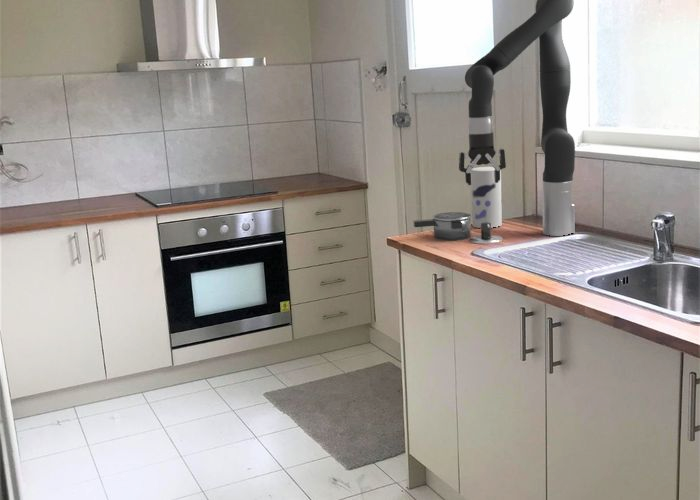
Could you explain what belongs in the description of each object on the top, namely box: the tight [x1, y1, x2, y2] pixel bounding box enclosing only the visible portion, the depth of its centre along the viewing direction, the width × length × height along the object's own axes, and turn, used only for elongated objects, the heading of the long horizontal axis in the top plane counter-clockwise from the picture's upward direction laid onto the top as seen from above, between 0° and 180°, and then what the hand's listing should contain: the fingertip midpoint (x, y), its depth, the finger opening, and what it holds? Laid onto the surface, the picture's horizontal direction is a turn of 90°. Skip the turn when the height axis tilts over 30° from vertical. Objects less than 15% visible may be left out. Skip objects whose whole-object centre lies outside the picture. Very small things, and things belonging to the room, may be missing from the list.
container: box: [470, 166, 503, 229], centre depth 268 cm, size 10×10×20 cm
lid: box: [469, 222, 504, 245], centre depth 248 cm, size 10×10×6 cm
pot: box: [413, 211, 472, 242], centre depth 254 cm, size 19×14×7 cm
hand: (482, 183), depth 244 cm, fingers open, 8 cm apart
